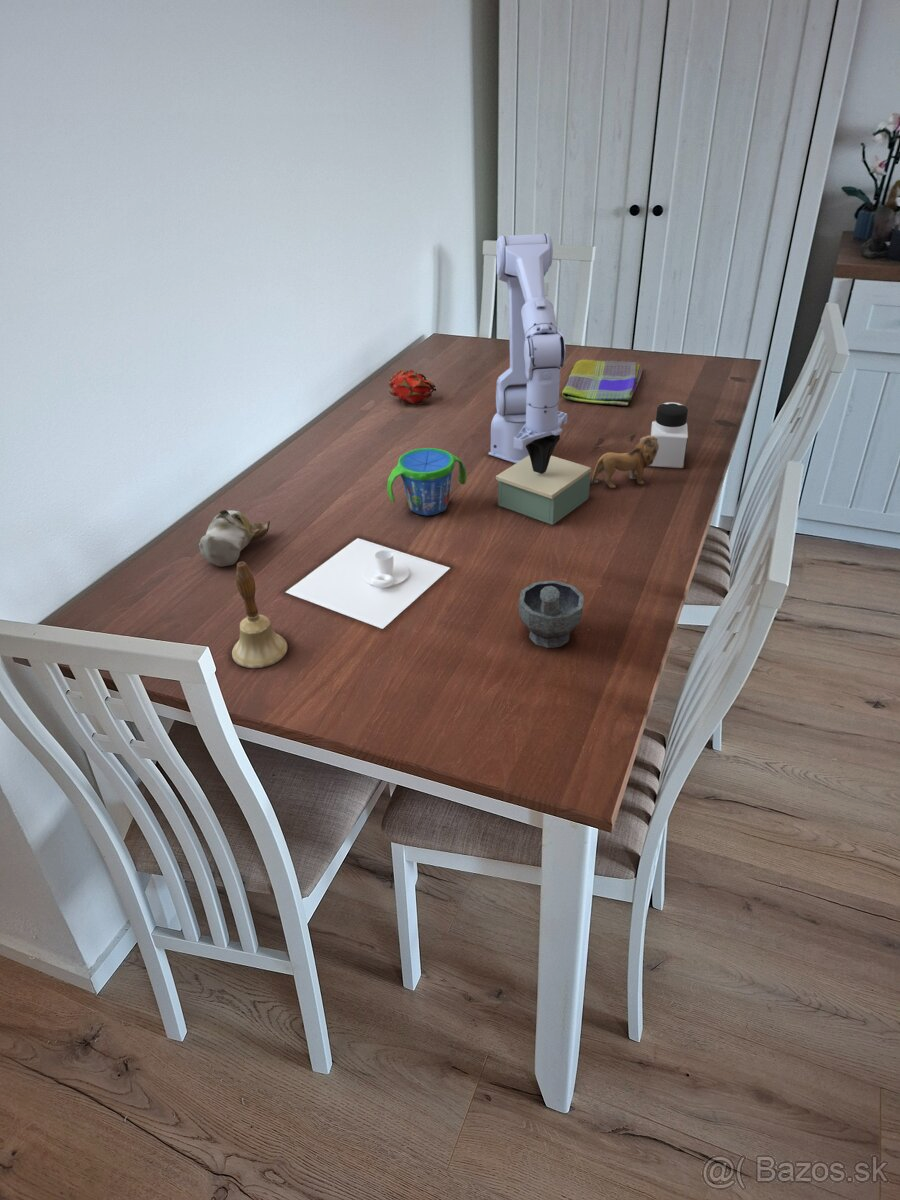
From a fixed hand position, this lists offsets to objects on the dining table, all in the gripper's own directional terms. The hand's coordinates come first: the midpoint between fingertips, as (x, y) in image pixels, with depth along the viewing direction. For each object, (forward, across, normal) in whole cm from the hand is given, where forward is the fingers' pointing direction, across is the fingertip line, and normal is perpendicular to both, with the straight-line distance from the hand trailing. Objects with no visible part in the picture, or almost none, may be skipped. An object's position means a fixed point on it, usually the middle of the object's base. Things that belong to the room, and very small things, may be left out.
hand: (539, 471), depth 158 cm
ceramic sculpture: (+8, -46, +35) cm, 58 cm away
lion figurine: (+8, +18, -8) cm, 21 cm away
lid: (+2, +1, 0) cm, 2 cm away
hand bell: (+8, -62, +9) cm, 63 cm away
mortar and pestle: (+8, -33, -24) cm, 42 cm away
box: (+7, +2, 0) cm, 8 cm away
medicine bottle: (+8, +32, -10) cm, 34 cm away
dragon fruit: (+7, +25, +54) cm, 59 cm away
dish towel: (+7, +60, +21) cm, 64 cm away
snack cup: (+8, -13, +17) cm, 22 cm away
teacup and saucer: (+8, -38, +9) cm, 40 cm away
